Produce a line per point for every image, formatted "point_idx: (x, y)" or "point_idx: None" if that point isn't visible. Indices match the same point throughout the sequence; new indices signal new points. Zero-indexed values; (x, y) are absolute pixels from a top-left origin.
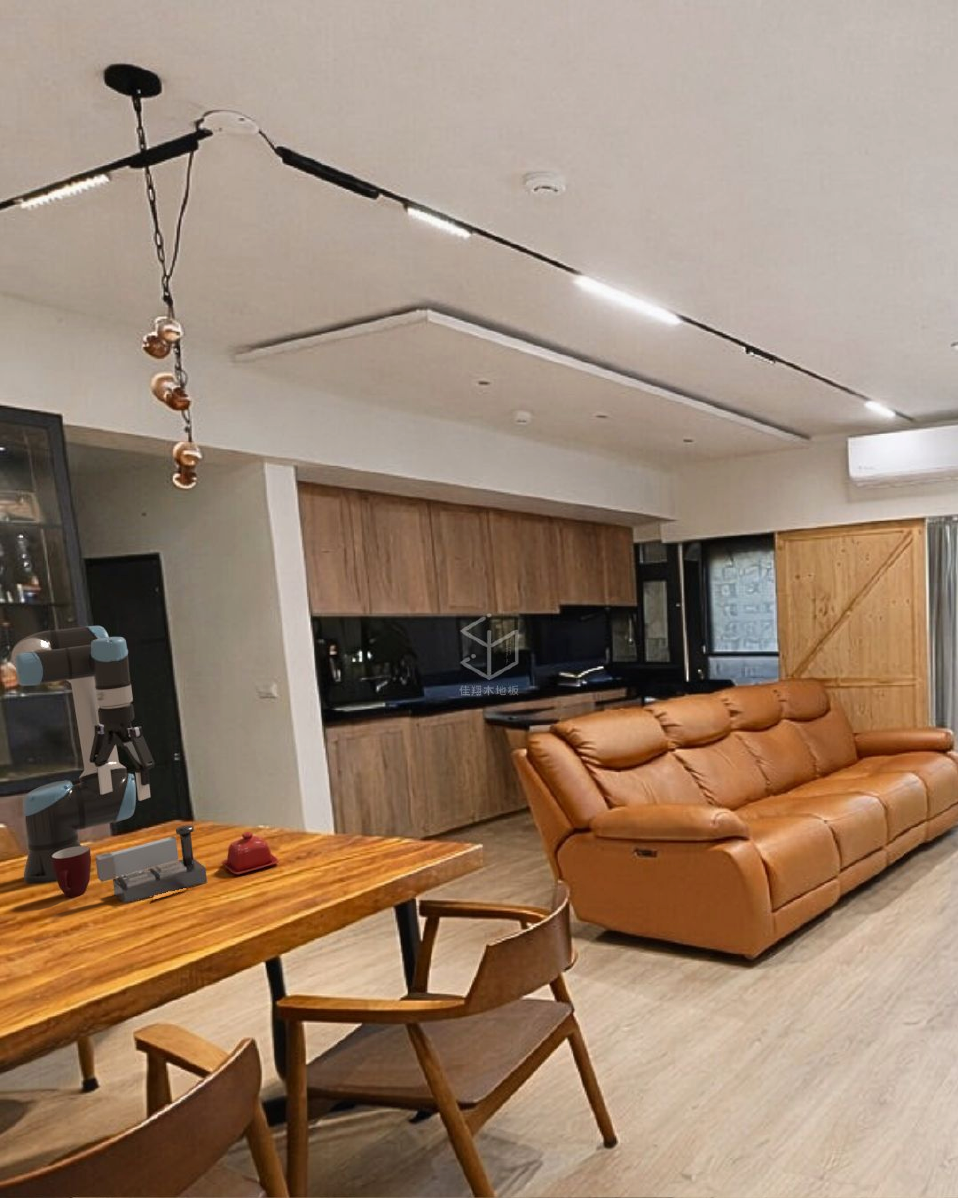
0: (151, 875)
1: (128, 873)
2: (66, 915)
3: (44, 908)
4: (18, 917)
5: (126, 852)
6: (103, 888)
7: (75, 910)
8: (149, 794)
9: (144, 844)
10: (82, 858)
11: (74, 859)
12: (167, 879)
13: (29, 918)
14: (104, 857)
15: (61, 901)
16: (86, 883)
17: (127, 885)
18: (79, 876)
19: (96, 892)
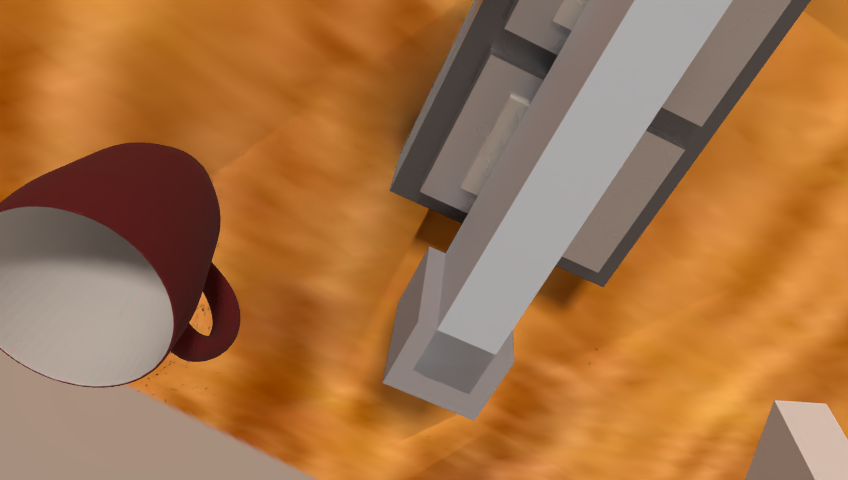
0: (650, 146)
1: (485, 177)
2: (367, 342)
3: (200, 320)
4: (190, 394)
5: (538, 287)
6: (236, 93)
7: (357, 302)
8: (840, 448)
9: (560, 152)
10: (186, 292)
11: (179, 335)
12: (739, 96)
13: (243, 391)
14: (472, 388)
15: None
16: (213, 193)
17: (598, 268)
18: (211, 258)
19: (252, 140)
